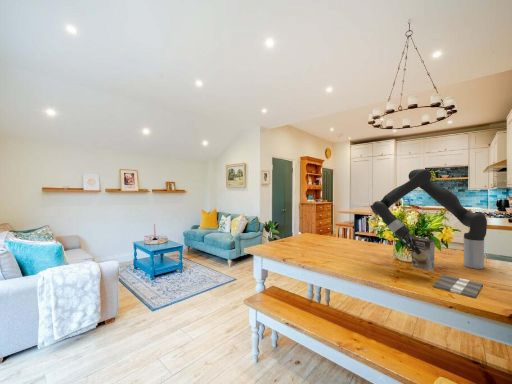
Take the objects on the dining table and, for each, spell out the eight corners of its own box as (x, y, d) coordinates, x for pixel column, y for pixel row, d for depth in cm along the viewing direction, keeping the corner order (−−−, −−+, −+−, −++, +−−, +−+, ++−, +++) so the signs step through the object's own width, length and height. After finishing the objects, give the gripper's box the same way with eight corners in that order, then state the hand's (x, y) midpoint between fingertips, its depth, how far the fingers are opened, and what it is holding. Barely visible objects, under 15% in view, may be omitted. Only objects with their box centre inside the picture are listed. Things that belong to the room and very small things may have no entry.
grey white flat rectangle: (443, 276, 131) (443, 274, 131) (482, 285, 119) (482, 283, 119) (432, 286, 119) (432, 284, 119) (475, 298, 106) (475, 296, 106)
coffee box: (411, 266, 133) (410, 238, 132) (416, 263, 136) (416, 236, 135) (429, 271, 125) (429, 241, 124) (435, 268, 128) (435, 239, 128)
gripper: (398, 226, 132) (423, 251, 124) (408, 223, 141) (431, 246, 133) (389, 234, 137) (412, 258, 128) (398, 230, 146) (420, 253, 137)
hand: (422, 252), depth 131 cm, fingers closed on coffee box, 7 cm apart
